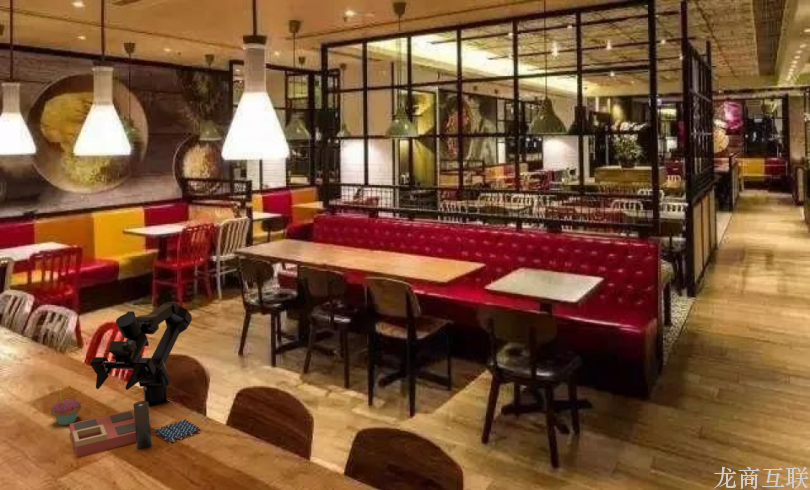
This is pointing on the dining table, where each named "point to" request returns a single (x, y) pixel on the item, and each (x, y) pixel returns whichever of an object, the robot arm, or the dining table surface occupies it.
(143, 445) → the stool leg
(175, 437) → the woven mat
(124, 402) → the dining table surface
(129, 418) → the pink control box
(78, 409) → the cupcake
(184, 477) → the dining table surface
